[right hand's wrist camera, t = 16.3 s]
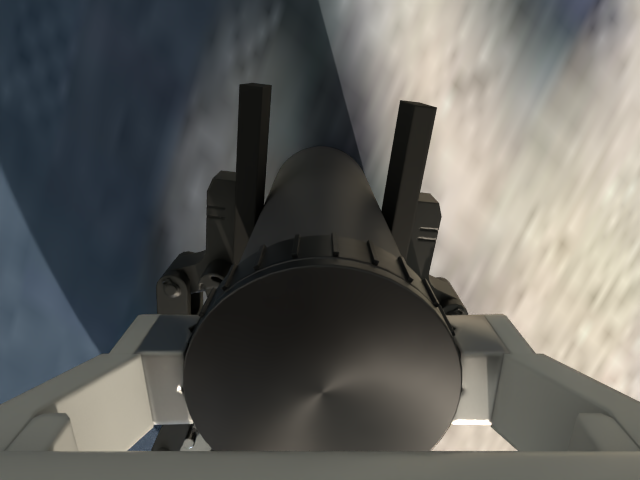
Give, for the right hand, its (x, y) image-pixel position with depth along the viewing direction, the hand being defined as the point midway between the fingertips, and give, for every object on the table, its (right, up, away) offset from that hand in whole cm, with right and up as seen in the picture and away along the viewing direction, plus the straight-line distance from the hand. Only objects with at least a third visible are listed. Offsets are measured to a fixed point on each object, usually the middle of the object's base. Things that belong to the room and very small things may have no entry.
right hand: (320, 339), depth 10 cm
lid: (0, -1, -2) cm, 2 cm away
